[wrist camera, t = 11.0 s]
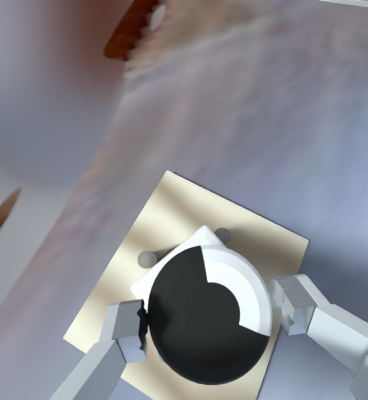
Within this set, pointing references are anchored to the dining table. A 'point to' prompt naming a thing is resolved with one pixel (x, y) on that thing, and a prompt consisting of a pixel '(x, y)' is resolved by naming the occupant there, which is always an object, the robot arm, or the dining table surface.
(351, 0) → the stack of papers
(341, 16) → the dining table surface
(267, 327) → the medicine bottle
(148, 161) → the dining table surface
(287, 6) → the dining table surface
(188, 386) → the stub cradle
